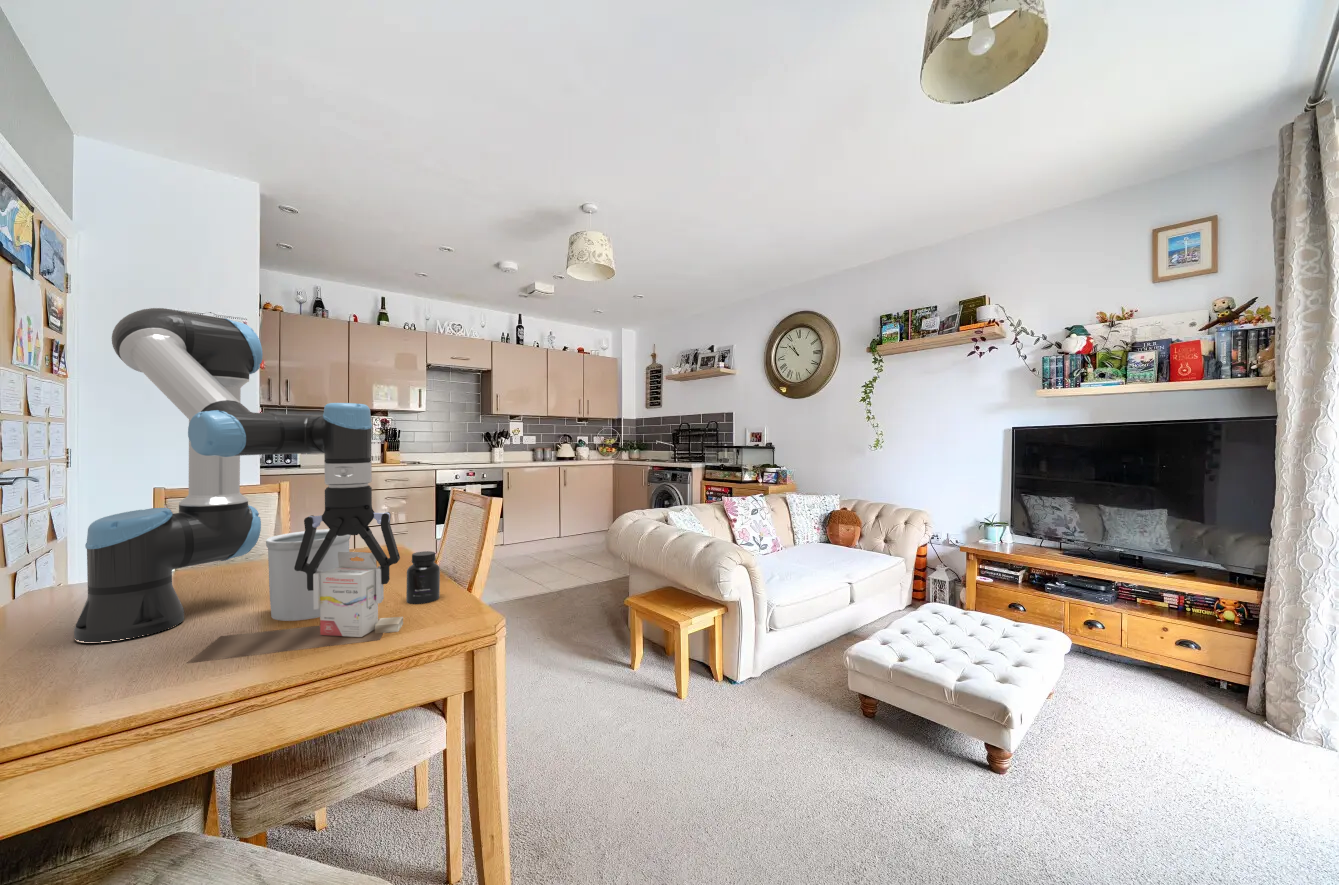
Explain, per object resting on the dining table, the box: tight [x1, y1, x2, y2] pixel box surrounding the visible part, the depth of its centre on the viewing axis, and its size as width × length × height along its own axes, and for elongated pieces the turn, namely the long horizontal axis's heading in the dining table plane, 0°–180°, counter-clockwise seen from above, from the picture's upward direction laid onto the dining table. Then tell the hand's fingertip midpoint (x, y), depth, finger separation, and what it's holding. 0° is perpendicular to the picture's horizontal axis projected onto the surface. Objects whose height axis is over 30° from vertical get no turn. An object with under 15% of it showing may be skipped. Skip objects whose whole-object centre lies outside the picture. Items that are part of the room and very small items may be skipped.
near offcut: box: [375, 616, 404, 634], centre depth 99 cm, size 4×4×2 cm
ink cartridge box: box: [319, 551, 379, 637], centre depth 97 cm, size 9×5×15 cm, turn 84°
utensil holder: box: [265, 528, 352, 622], centre depth 110 cm, size 15×15×18 cm
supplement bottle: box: [406, 550, 441, 605], centre depth 117 cm, size 7×7×12 cm
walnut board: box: [186, 618, 384, 664], centre depth 95 cm, size 28×12×2 cm, turn 110°
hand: (349, 604), depth 97 cm, fingers closed on ink cartridge box, 9 cm apart
